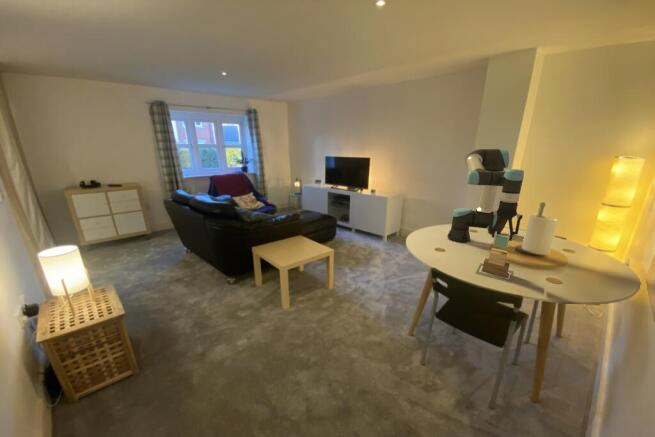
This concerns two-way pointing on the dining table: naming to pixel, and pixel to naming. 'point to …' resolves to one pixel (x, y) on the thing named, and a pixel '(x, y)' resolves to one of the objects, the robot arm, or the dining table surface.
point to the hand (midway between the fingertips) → (500, 244)
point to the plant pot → (500, 226)
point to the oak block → (497, 257)
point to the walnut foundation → (495, 268)
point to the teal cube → (501, 241)
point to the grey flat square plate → (508, 279)
